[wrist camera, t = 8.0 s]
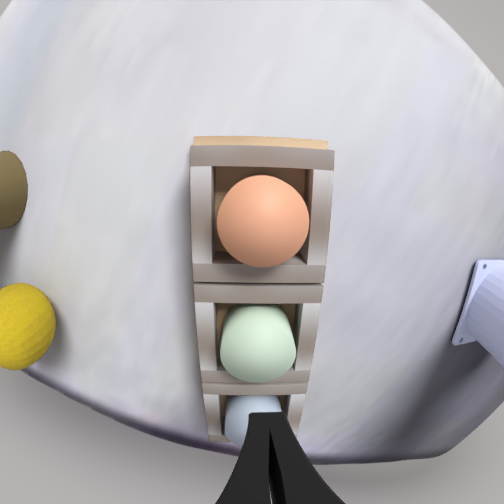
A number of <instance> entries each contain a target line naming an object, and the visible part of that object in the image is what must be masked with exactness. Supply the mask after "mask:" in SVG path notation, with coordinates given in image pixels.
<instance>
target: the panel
mask: <svg viewBox="0 0 504 504" xmlns="http://www.w3.org/2000/svg"><path fill="white" fill-rule="evenodd" d="M327 145H328V141H323V140H311V139H298V138H282V137H258V136H197V137H194V146H191V153H190V195H191V239H192V264H193V282H195V283H194V299H195V314H196V327H197V339H198V350H199V361H200V371H201V380H202V389H203V397H204V406H205V414H206V421H207V428H208V435H209V441H214V442H231V441H230V440H228V439H227V437H226V435H225V417H226V400H227V397H228V395H279V397H280V403H281V410H282V412H284V413H286V416H287V419H288V421H289V424H290V426H291V428H292V430H293V433H294V435H295V437H297V433H298V428H299V424H300V419H301V415H302V410H303V405H304V401H305V396H306V391H307V386H308V382H307V381H309V375H310V370H311V364H312V359H313V353H314V347H315V341H316V335H317V328H318V322H319V315H320V308H321V301H322V293H323V285H322V283H324V277H325V269H326V260H327V250H328V240H329V230H330V218H331V205H332V190H333V173H334V150H327ZM253 174H267V175H271V176H274V177H276V178H278V179H280V180H282V181H284V182H285V183H287V184H289V185H290V186H292V187H293V188H294V189H295V190H296V191H297V192H298V193H299V194H300V196H301V197H302V198H303V200H304V202H305V204H306V207H307V210H308V214H309V230H308V234H307V237H306V239H305V242H304V244H303V245H302V247H301V248H300V250H299V251H298V252H297V253H296V254H295V255H294V256H293V257H291V258H290V259H289V260H287V261H285V262H283V263H281V264H279V265H276V266H271V267H254V266H249V265H246V264H244V263H242V262H240V261H238V260H237V259H235V258H234V257H233V256H232V255H230V254H229V252H228V251H227V250H226V249H225V247H224V246H223V244H222V242H221V240H220V237H219V235H218V230H217V216H218V211H219V208H220V205H221V203H222V201H223V199H224V197H225V196H226V194H227V192H228V191H229V189H230V188H231V187H232V186H233V184H235V183H236V182H237V181H238V180H240V179H242V178H244V177H246V176H249V175H253ZM236 303H265V304H279V305H280V306H281V307H282V308H283V309H284V310H285V312H286V314H287V316H288V320H289V324H290V328H291V331H292V335H293V339H294V343H295V347H296V357H295V360H294V363H293V365H292V366H291V368H290V369H289V370H288V371H287V372H286V373H285V374H283V375H282V376H280V377H278V378H276V379H274V380H271V381H267V382H261V383H253V382H246V381H243V380H240V379H238V378H236V377H234V376H232V375H231V374H230V373H229V372H228V371H227V370H226V369H225V368H224V366H223V364H222V362H221V358H220V350H221V341H222V332H223V324H224V318H225V316H226V314H227V312H228V311H229V309H230V308H231V307H232V306H233V305H235V304H236Z"/></svg>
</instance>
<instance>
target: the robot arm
mask: <svg viewBox="0 0 504 504" xmlns="http://www.w3.org/2000/svg"><path fill="white" fill-rule="evenodd" d="M483 265H484V266H483ZM474 341H478V342H479V343H480V344H481V345H482V346H483V347H484V348H485V349H486V350H487V351H488V352H489V353H490V354H491V355H492V356H493V357H494V358H495V359H496V360H497V361H498V362H499V363H500V364H501V365H502V366H503V367H504V260H478V261H477V262H476V264H475V267H474V272H473V276H472V279H471V283H470V287H469V290H468V294H467V297H466V301H465V304H464V307H463V310H462V313H461V316H460V319H459V322H458V325H457V328H456V331H455V334H454V336H453V339H452V343H453V345H455V346H456V345H460V344H465V343H469V342H474ZM269 486H270V489H269ZM270 491H271V498H272V503H273V504H345V503H344V502H343V501H342V500H341V499H340V498H339V497H338V496H337V495H336V494H335V493H334V492H333V491H332V490H331V489H330V487H329V486H328V485H327V484H326V483H325V481H324V480H323V479H322V478H321V476H320V475H319V474H318V472H317V471H316V470H315V468H314V467H313V465H312V464H311V462H310V461H309V459H308V458H307V456H306V454H305V453H304V451H303V449H302V448H301V446H300V444H299V442H298V441H297V439H296V437H295V435H294V433H293V430H292V428H291V426H290V424H289V421H288V419H287V416H286V413H284V412H251V413H250V414H249V418H248V427H247V432H246V436H245V440H244V443H243V446H242V449H241V452H240V455H239V458H238V461H237V463H236V465H235V468H234V470H233V472H232V475H231V477H230V479H229V481H228V483H227V485H226V486H225V488H224V490H223V492H222V494H221V495H220V497H219V499H218V500H217V502H216V503H215V504H271V500H270Z"/></svg>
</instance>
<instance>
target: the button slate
mask: <svg viewBox="0 0 504 504" xmlns="http://www.w3.org/2000/svg"><path fill="white" fill-rule="evenodd" d="M251 412H282V410H281V403H280V397H279V395H228V397H227V400H226V417H225V435H226V437H227V439H228V440H230V441H231V442H232V443H234V444H237V445H239V446H243V443H244V440H245V436H246V432H247V427H248V418H249V414H250V413H251Z"/></svg>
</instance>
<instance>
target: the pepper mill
mask: <svg viewBox="0 0 504 504" xmlns="http://www.w3.org/2000/svg"><path fill="white" fill-rule="evenodd" d="M27 187H28V185H27V179H26V172H25V170H24V167H23V165H22V162H21V161H20V159H19V158H18V157H17V156H16V154H14V153H12V152H10V151H1V152H0V229H3V228H8V227H11V226H13V225H15V224H16V223H17V222H18V221H19V220H20V219H21V216H22V214H23V212H24V210H25V206H26V201H27Z"/></svg>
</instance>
